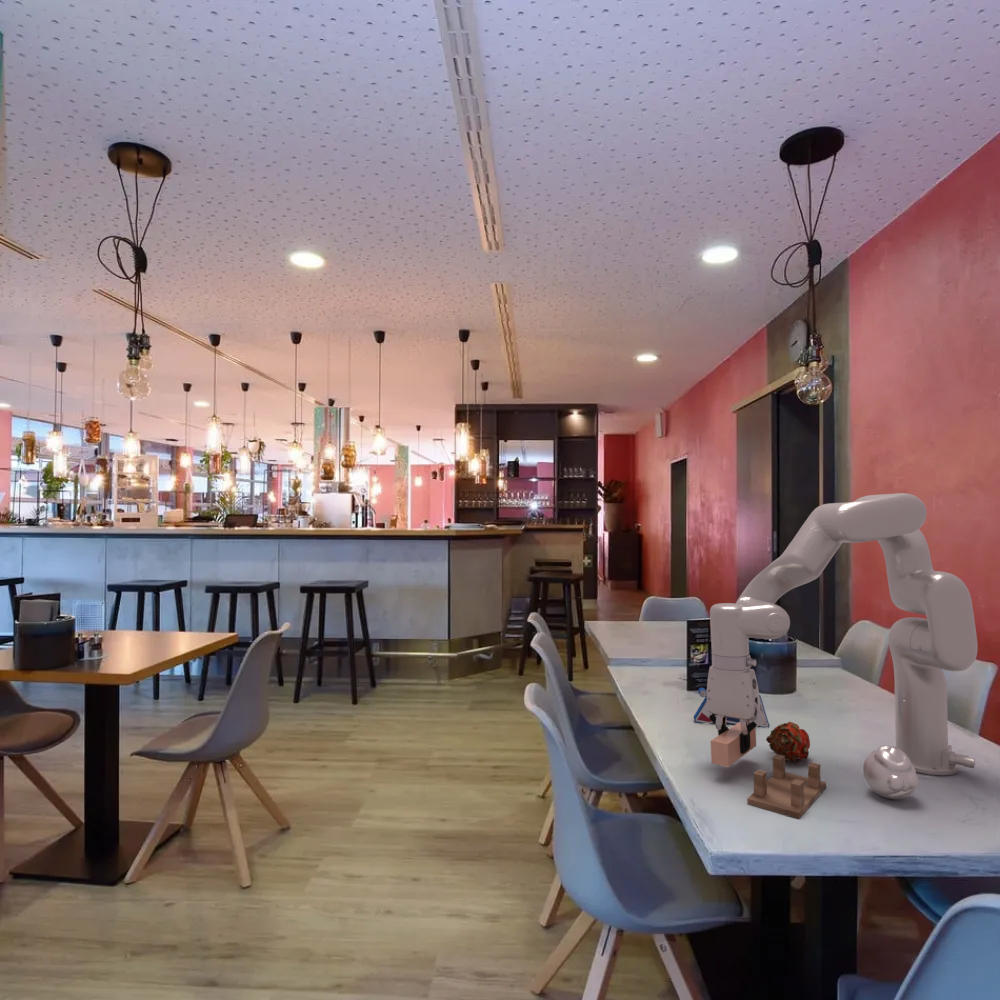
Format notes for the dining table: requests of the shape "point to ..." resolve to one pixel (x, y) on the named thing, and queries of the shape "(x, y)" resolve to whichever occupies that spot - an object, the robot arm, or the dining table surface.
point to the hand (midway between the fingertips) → (734, 748)
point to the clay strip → (729, 746)
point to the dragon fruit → (789, 741)
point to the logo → (703, 718)
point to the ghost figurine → (890, 772)
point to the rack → (786, 789)
